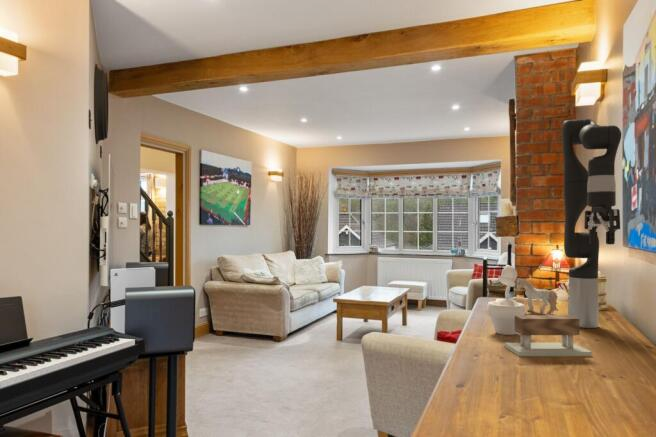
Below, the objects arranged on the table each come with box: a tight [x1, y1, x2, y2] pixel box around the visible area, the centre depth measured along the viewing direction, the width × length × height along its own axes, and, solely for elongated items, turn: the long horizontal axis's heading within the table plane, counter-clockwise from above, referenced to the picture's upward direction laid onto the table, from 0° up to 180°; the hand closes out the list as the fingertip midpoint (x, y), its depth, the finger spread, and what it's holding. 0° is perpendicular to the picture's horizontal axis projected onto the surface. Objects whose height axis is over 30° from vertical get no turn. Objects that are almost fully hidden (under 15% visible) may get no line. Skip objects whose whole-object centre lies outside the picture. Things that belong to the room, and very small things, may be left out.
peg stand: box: [503, 334, 593, 357], centre depth 132 cm, size 10×20×5 cm, turn 91°
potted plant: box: [486, 261, 526, 336], centre depth 154 cm, size 13×12×25 cm
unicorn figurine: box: [514, 278, 559, 315], centre depth 193 cm, size 7×20×13 cm, turn 51°
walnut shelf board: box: [515, 314, 581, 336], centre depth 132 cm, size 16×5×4 cm, turn 91°
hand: (601, 243), depth 143 cm, fingers open, 8 cm apart
